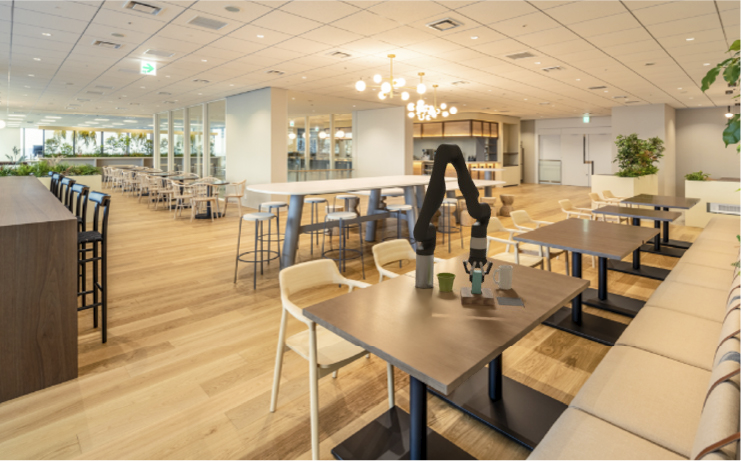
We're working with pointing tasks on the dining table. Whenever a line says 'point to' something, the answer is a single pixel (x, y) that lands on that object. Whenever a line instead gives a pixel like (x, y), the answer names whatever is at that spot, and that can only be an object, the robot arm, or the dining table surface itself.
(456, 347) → the dining table surface
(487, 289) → the pocket block
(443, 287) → the plant pot
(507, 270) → the mug
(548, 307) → the dining table surface
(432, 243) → the robot arm
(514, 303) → the mat
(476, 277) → the peg
